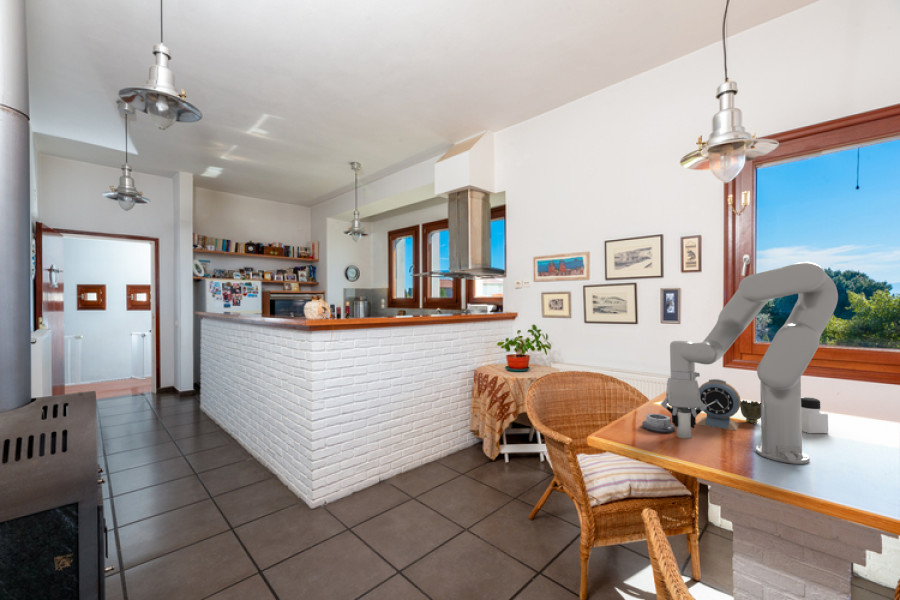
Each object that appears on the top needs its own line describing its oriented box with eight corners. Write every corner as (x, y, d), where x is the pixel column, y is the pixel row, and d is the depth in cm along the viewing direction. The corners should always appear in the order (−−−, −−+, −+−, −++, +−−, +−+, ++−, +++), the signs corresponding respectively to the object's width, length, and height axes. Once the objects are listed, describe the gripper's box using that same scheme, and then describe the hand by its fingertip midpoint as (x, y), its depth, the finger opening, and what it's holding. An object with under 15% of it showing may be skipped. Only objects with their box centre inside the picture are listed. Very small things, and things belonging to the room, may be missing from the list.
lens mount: (678, 434, 138) (677, 422, 138) (644, 431, 141) (644, 419, 141) (671, 425, 148) (671, 413, 148) (640, 422, 152) (640, 411, 152)
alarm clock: (694, 423, 150) (693, 379, 150) (699, 418, 157) (698, 375, 157) (739, 431, 140) (738, 383, 140) (742, 425, 147) (741, 379, 147)
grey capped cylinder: (692, 439, 133) (692, 410, 133) (678, 437, 134) (677, 409, 134) (689, 435, 137) (688, 407, 137) (675, 433, 139) (674, 406, 139)
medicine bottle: (828, 433, 136) (828, 400, 136) (808, 433, 136) (807, 400, 136) (810, 427, 143) (809, 395, 143) (791, 427, 143) (790, 395, 144)
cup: (762, 421, 151) (761, 401, 151) (765, 426, 145) (765, 405, 145) (738, 418, 155) (738, 399, 155) (741, 423, 149) (740, 403, 149)
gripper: (706, 374, 137) (707, 425, 137) (654, 372, 142) (655, 421, 142) (713, 378, 130) (714, 431, 129) (658, 376, 135) (659, 427, 135)
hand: (683, 425), depth 136 cm, fingers closed on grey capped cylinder, 4 cm apart
